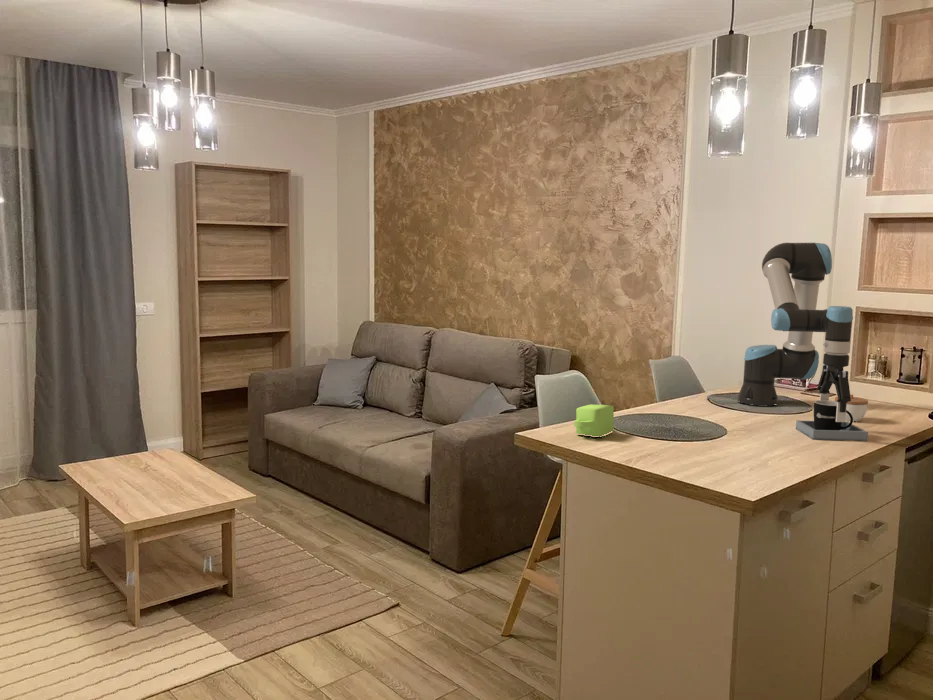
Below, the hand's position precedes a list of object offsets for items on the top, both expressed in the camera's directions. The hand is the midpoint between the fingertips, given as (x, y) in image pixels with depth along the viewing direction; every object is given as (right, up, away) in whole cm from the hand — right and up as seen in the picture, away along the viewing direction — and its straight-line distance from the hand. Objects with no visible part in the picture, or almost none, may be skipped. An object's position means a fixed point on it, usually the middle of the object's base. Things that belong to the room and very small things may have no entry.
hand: (831, 417), depth 247 cm
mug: (0, -6, 0) cm, 6 cm away
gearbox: (-79, -5, -3) cm, 79 cm away
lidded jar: (+18, -3, +24) cm, 31 cm away
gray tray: (0, -6, +1) cm, 6 cm away
